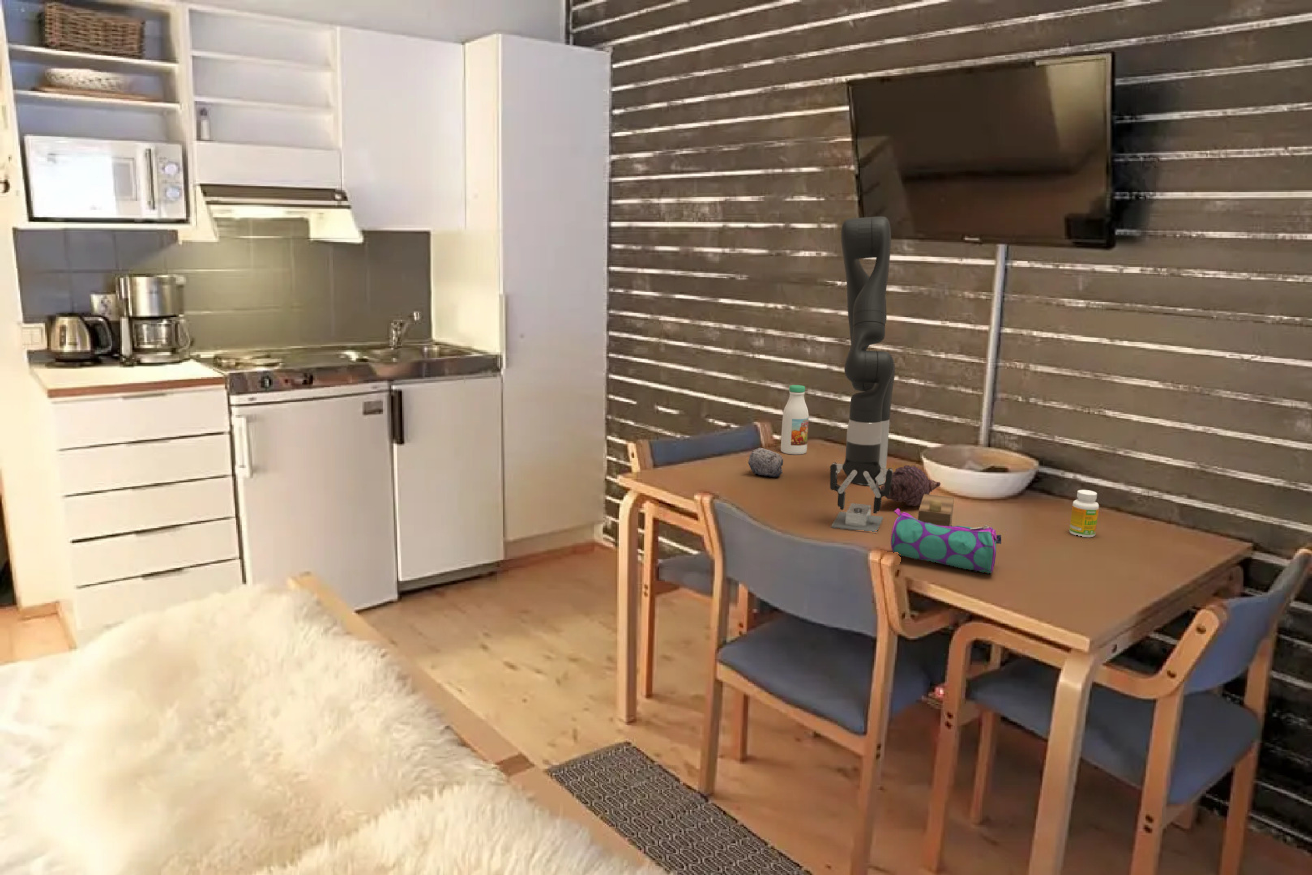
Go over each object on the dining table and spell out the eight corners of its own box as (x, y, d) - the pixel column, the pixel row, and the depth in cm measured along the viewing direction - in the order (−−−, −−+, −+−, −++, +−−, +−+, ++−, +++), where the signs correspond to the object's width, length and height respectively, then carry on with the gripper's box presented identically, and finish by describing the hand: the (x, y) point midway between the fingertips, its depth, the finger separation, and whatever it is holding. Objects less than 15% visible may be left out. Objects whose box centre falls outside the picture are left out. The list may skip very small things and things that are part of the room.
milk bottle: (780, 454, 281) (783, 387, 277) (781, 448, 289) (784, 383, 284) (806, 455, 280) (810, 388, 276) (806, 449, 287) (810, 384, 283)
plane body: (920, 525, 217) (924, 485, 214) (951, 529, 214) (955, 488, 212) (914, 544, 203) (918, 501, 201) (948, 548, 201) (952, 505, 199)
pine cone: (892, 515, 223) (895, 474, 221) (864, 504, 232) (867, 465, 230) (948, 507, 232) (951, 467, 229) (919, 496, 240) (922, 458, 238)
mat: (839, 513, 224) (840, 511, 224) (883, 518, 221) (883, 516, 221) (831, 527, 213) (831, 525, 213) (876, 533, 210) (876, 531, 210)
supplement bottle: (1084, 539, 210) (1089, 496, 208) (1063, 531, 215) (1068, 490, 212) (1100, 535, 212) (1106, 493, 210) (1080, 528, 217) (1085, 487, 215)
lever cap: (850, 515, 221) (851, 501, 221) (870, 517, 220) (871, 503, 219) (845, 525, 214) (846, 510, 213) (865, 527, 213) (866, 513, 212)
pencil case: (998, 566, 192) (1003, 520, 190) (992, 580, 184) (997, 532, 182) (895, 548, 201) (899, 504, 199) (885, 560, 193) (888, 515, 191)
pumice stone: (789, 484, 257) (768, 466, 265) (796, 459, 254) (774, 442, 261) (758, 488, 252) (738, 469, 259) (766, 462, 248) (744, 444, 256)
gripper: (898, 439, 214) (892, 510, 218) (834, 433, 219) (829, 502, 222) (894, 446, 207) (888, 519, 211) (828, 439, 212) (824, 511, 215)
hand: (858, 510), depth 217 cm, fingers open, 7 cm apart
